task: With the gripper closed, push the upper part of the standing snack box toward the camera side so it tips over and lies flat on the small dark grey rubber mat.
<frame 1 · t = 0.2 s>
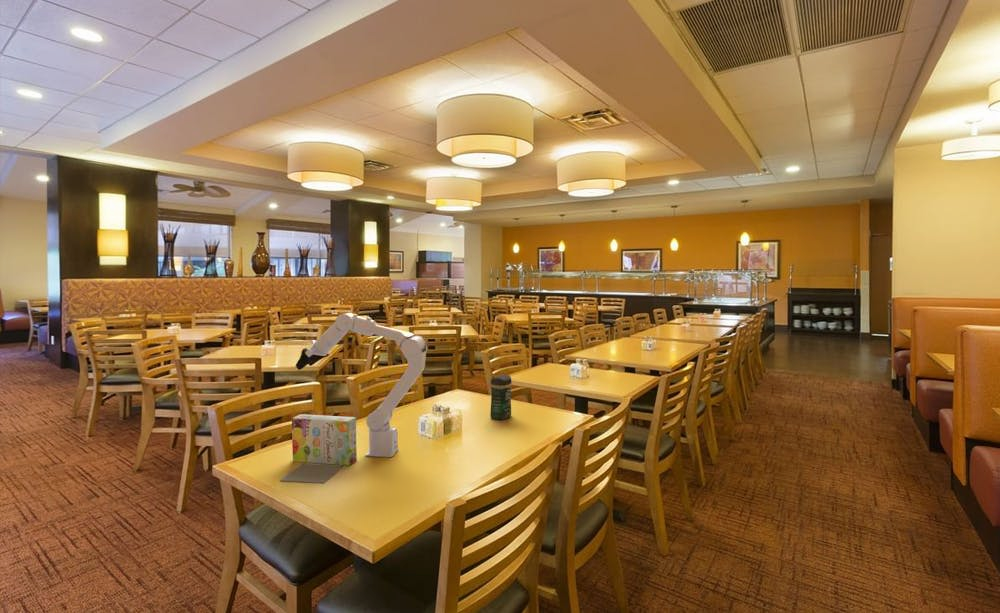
hand: (303, 365, 171), 30 cm above the table, tool tilted 45°, fingers open, 7 cm apart
snack box: (324, 461, 163), on the table
coffee jar: (501, 417, 213), on the table
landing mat: (312, 473, 153), on the table
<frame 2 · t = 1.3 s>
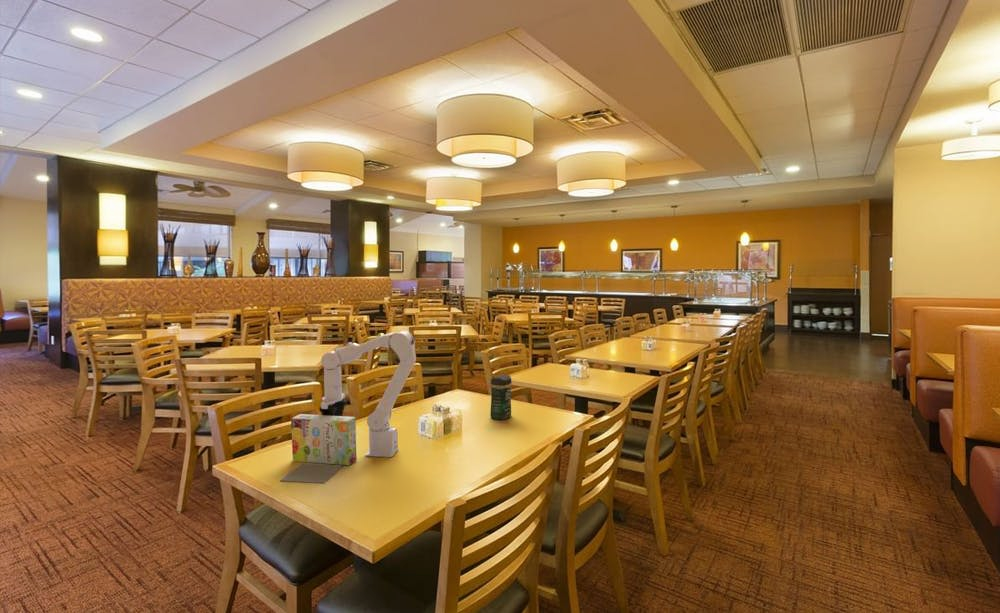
hand: (334, 423, 170), 10 cm above the table, tool pointing down, fingers open, 6 cm apart
snack box: (324, 461, 163), on the table, touching gripper
everything else where it was.
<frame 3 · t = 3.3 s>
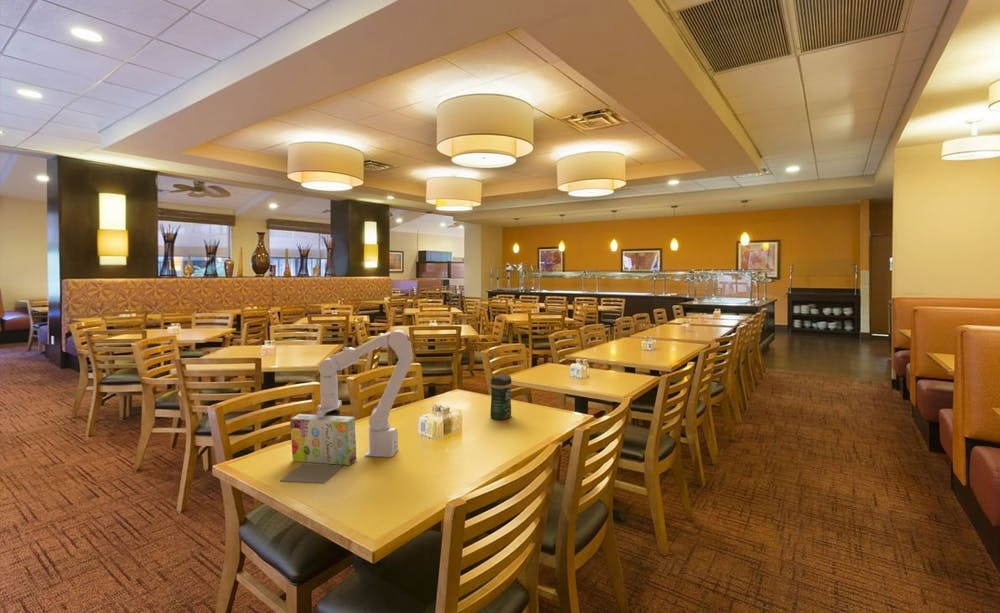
hand: (330, 431, 167), 8 cm above the table, tool pointing down, fingers closed
snack box: (324, 460, 163), on the table
everything else where it was.
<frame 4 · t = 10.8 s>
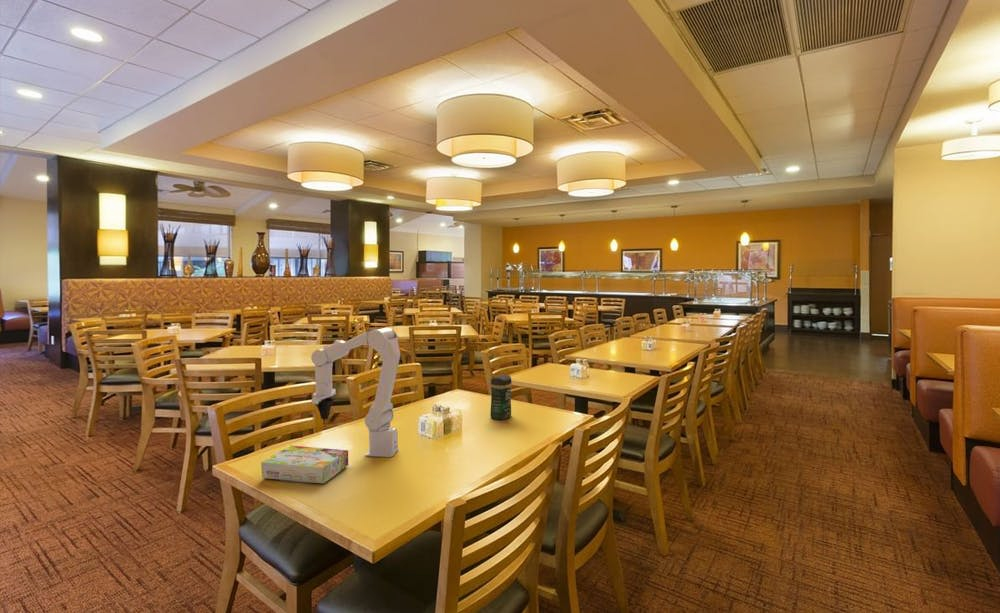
hand: (324, 418, 176), 10 cm above the table, tool pointing down, fingers closed
snack box: (319, 454, 161), point 3 cm above the table, touching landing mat
everything else where it was.
at the end: snack box tilted 91°; snack box touching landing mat; snack box inside the target area (1.5 cm from its centre), point 3.2 cm above the table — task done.
